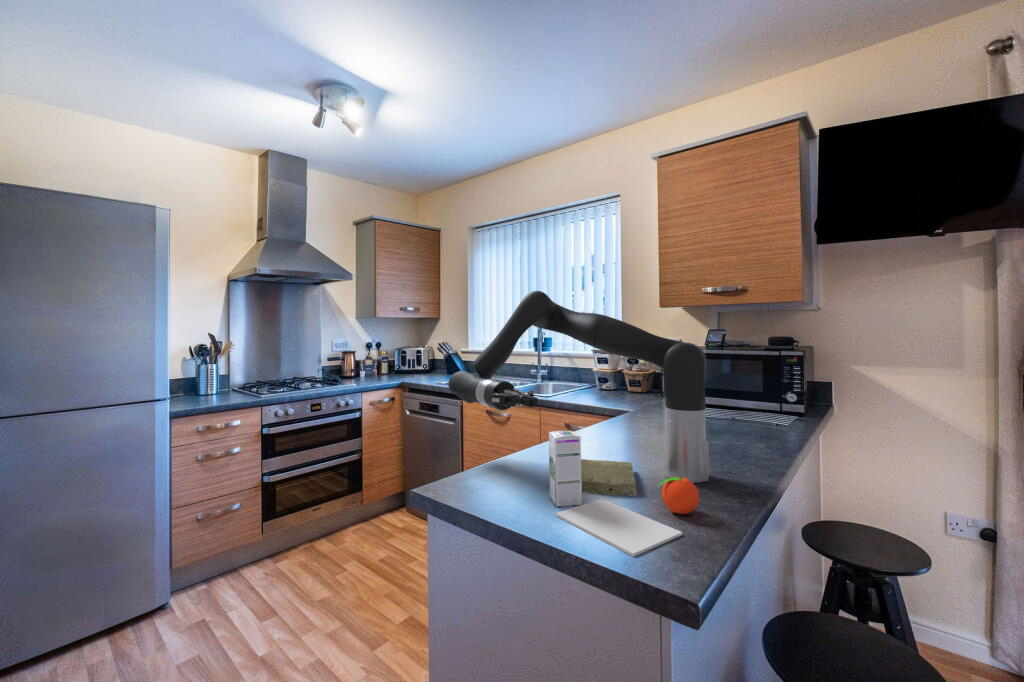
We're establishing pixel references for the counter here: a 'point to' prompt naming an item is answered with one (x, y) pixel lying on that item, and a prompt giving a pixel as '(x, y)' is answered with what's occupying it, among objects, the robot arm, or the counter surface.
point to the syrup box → (565, 468)
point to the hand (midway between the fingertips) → (535, 402)
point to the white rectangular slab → (619, 526)
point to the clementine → (680, 495)
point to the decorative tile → (608, 477)
